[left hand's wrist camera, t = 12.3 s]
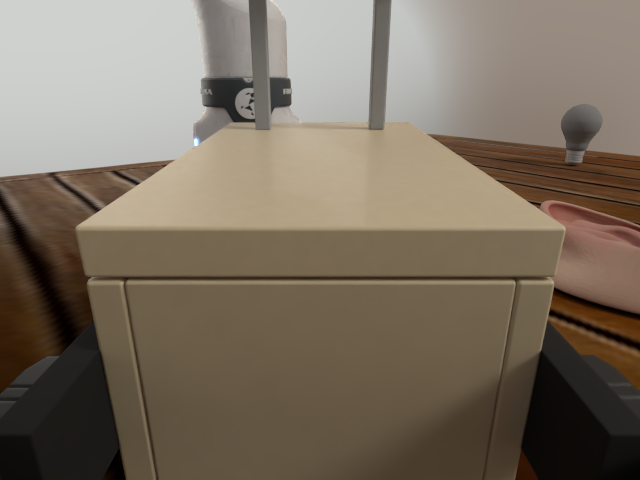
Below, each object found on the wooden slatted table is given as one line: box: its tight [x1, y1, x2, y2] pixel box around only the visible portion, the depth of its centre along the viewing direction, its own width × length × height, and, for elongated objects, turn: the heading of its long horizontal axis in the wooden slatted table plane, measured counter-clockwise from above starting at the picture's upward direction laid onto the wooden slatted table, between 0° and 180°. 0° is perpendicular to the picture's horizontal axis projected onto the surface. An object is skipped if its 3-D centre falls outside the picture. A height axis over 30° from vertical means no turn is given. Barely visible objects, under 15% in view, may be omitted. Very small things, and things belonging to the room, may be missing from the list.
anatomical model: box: [540, 201, 640, 315], centre depth 32 cm, size 13×4×12 cm
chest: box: [87, 277, 554, 480], centre depth 18 cm, size 16×10×10 cm, turn 0°
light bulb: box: [561, 104, 602, 165], centre depth 74 cm, size 6×6×10 cm
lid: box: [75, 0, 566, 277], centre depth 15 cm, size 16×10×8 cm, turn 0°
